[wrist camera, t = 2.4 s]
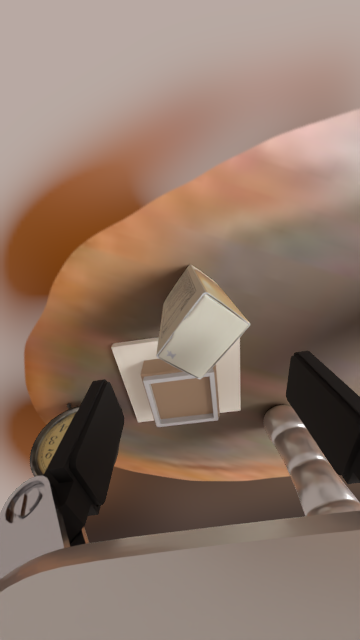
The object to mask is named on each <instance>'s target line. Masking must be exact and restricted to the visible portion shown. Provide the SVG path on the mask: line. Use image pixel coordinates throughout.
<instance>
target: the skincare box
mask: <svg viewBox="0 0 360 640" xmlns="http://www.w3.org/2000/svg"><path fill="white" fill-rule="evenodd" d="M249 326H250V323H249V322H248V320H247V319H246V318H245V317H244V316H243V315H242V313H241V312H240V311H239V310H238V309H237V307H236V306H235V305H234V304H233V303H232V301H231V300H230V299H229V298H228V296H227V295H226V294H225V293H224V292H223V290H222V289H221V288H220V287H219V286H218V284H217V283H216V282H214V281H213V280H212V279H211V278H209V277H208V276H207V275H205V274H204V273H203V272H201V271H200V270H198V269H197V268H196V267H194V266H193V265H189V266H188V267H187V269H186V270H185V271H184V273H183V274H182V276H181V277H180V278H179V280H178V281H177V283H176V284H175V286H174V287H173V289H172V290H171V292H170V293H169V295H168V296H167V298H166V300H165V301H164V304H163V312H162V319H161V326H160V332H159V339H158V347H157V354H156V357H157V358H159V359H161V360H163V361H165V362H166V363H168V364H170V365H172V366H174V367H176V368H178V369H179V370H181V371H183V372H185V373H187V374H189V375H191V376H194V377H195V378H197V379H201V378H203V377H204V376H205V375H206V374H207V373H208V372H209V371H210V370H211V369H212V368H213V367H214V365H216V363H217V362H218V361H219V360H220V359H221V358H222V357H223V356H224V355H225V354H226V352H227V351H228V350H229V349H230V348H231V347H232V346H233V344H234V343H235V342H236V341H237V340H238V339H239V338H240V336H241V335H242V334H243V333H244V332H245V331H246V329H247V328H248V327H249Z"/></svg>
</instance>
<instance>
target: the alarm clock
mask: <svg viewBox="0 0 360 640" xmlns="http://www.w3.org/2000/svg"><path fill="white" fill-rule="evenodd" d="M67 407H68V410H67V411H65V412H63V413H62V414H60V415H58V416H57V417H55V418H54V419H53V420H51V421H50V422H49V423H48V424H47V425H46V426H45V427H44V428H43V429H42V431H41V432H40V433H39V435H38V437H37V438H36V440H35V442H34V444H33V447H32V450H31V455H30V466H31V470H32V473H33V475H34V477H35V476H43V475H44V473H45V471H46V469H47V467H48V465H49V463H50V461H51V459H52V457H53V456H54V454H55V452H56V450H57V448H58V446H59V444H60V442H61V440H62V438H63V436H64V434H65V432H66V430H67V428H68V427H69V425H70V423H71V421H72V419H73V417H74V415H75V414H76V412H77V411H78V409H79V408H80V407H75V408H72V407H71V403H69V404H68V405H67ZM121 411H122V409H121ZM118 450H119V446H118ZM118 450H117V454H116V458H115V462H116V459H117V455H118ZM114 464H115V463H114Z"/></svg>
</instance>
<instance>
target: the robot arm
mask: <svg viewBox="0 0 360 640" xmlns="http://www.w3.org/2000/svg"><path fill="white" fill-rule="evenodd" d="M286 397H287V400H288V402H289V403H290V405H291V406H292V408H293V409H294V411H295V412H296V414H297V415H298V417H299V418H300V420H301V421H302V423H303V424H304V426H305V427H306V429H307V430H308V432H309V433H310V435H311V436H312V438H313V439H314V441H315V442H316V444H317V445H318V447H319V448H320V450H321V451H322V453H323V454H324V456H325V457H326V458H327V460H328V461H329V463H330V464H331V466H332V467H333V469H334V470H335V472H336V473H337V474H338V475H342V476H343V478H344V479H345V481H346V482H347V484H352V483H360V397H359V396H358V395H357V394H356V393H355V392H354V391H353V390H352V389H350V388H349V387H348V386H347V385H346V384H345V383H344V382H343V381H342V380H340V379H339V378H338V377H337V376H336V375H335V374H334V373H333V372H332V371H330V370H329V369H328V368H327V367H326V366H325V365H324V364H323V363H322V362H320V361H319V360H318V359H317V358H316V357H315V356H314V355H313V354H312V353H310V352H309V351H302V352H296V353H294V356H292V357H291V361H290V368H289V376H288V383H287V391H286ZM123 425H124V416H123V413H122V411H121V408H120V406H119V403H118V401H117V398H116V396H115V393H114V391H113V388H112V386H111V384H110V382H107V381H106V380H98V381H93V382H92V384H91V386H90V388H89V390H88V392H87V394H86V396H85V398H84V400H83V402H82V404H81V406H80V408H79V409H78V411H77V412H76V414H75V415H74V417H73V419H72V421H71V423H70V425H69V427H68V428H67V430H66V432H65V434H64V436H63V438H62V440H61V442H60V444H59V446H58V448H57V450H56V452H55V454H54V456H53V457H52V459H51V461H50V463H49V465H48V467H47V469H46V471H45V473H44V475H43V476H35V477H33V478H30V479H29V480H27V481H25V482H24V483H23V484H21V485H20V486H19V487H18V488H17V489H16V490H15V491H14V492H13V493H12V494H11V496H10V497H9V498H8V500H7V501H6V503H5V505H4V507H3V509H2V511H1V513H0V640H360V511H351V512H341V513H332V514H323V515H314V516H305V517H297V518H288V519H279V520H270V521H262V522H253V523H244V524H236V525H227V526H219V527H211V528H203V529H194V530H186V531H179V532H170V533H162V534H154V535H145V536H137V537H130V538H122V539H116V540H108V541H101V542H95V543H89V541H88V538H87V535H86V532H85V529H84V526H85V523H86V520H87V516H90V515H98V514H99V510H100V506H101V505H103V504H104V502H105V499H106V495H107V491H108V487H109V483H110V479H111V475H112V471H113V467H114V463H115V458H116V454H117V450H118V446H119V442H120V438H121V434H122V430H123Z"/></svg>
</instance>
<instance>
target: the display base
mask: <svg viewBox="0 0 360 640" xmlns="http://www.w3.org/2000/svg"><path fill="white" fill-rule="evenodd" d="M158 339H159V337H156V338H149V339H142V340H134V341H127V342H120V343H113V345H112V346H111V348H112V351H113V354H114V357H115V360H116V362H117V365H118V368H119V371H120V373H121V376H122V379H123V382H124V384H125V387H126V390H127V393H128V396H129V398H130V401H131V404H132V407H133V409H134V412H135V415H136V418H137V420H138V422H146V421H155V424H156V425H157V427H164V426H173V425H181V424H190V423H199V422H208V421H216V420H218V417H220V413H223V412H232V411H241V402H240V338H239V339H238V340H237V341H236V342H235V343H234V344H233V346H232V347H231V348H230V349H229V350H228V351H227V352H226V354H225V355H224V356H223V357H222V358H221V359H220V360H219V361H218V362H217V363H216V365H214V367H213V368H212V369H211V370H210V371H209V372H208V373H207V374H206V375H205V376H204V377H203V378H201V379H197V378H195V377H194V376H191V375H189V374H187V373H185V372H183V371H181V370H179V369H178V368H176V367H174V366H172V365H170V364H168V363H166V362H165V361H163V360H161V359H159V358H157V357H156V354H157V347H158Z"/></svg>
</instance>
